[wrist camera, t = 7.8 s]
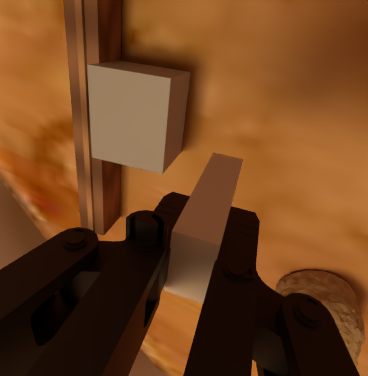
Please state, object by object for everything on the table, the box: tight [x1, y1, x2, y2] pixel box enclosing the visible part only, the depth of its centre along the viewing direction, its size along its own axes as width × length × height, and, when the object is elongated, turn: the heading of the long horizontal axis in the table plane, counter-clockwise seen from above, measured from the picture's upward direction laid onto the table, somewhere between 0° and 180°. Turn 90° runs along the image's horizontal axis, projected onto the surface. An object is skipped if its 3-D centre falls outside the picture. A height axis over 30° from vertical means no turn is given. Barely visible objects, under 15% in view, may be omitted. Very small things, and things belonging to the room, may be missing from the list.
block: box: [87, 61, 191, 174], centre depth 26 cm, size 8×7×6 cm
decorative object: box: [275, 270, 365, 366], centre depth 31 cm, size 9×10×10 cm
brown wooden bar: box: [63, 0, 122, 235], centre depth 27 cm, size 30×3×4 cm, turn 173°
